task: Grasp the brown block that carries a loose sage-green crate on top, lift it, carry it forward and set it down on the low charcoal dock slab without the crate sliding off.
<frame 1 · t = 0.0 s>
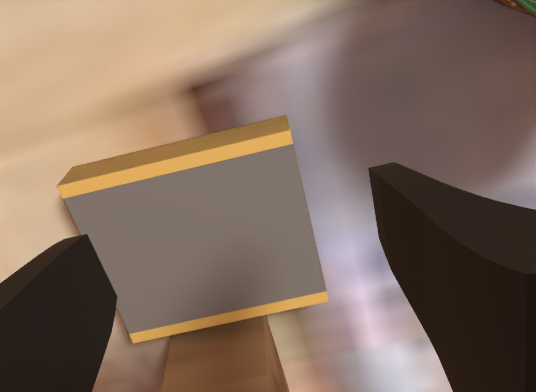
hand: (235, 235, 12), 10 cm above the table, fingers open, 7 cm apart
dock: (206, 225, 23), on the table
brown block: (234, 357, 28), on the table, touching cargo
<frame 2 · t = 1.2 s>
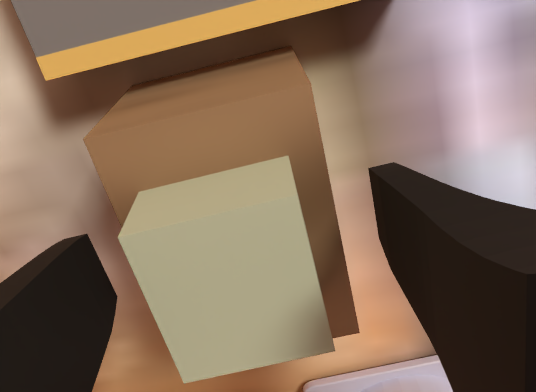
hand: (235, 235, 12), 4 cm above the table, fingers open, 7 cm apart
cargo: (236, 246, 12), point 5 cm above the table, touching brown block
brown block: (240, 167, 16), on the table, touching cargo
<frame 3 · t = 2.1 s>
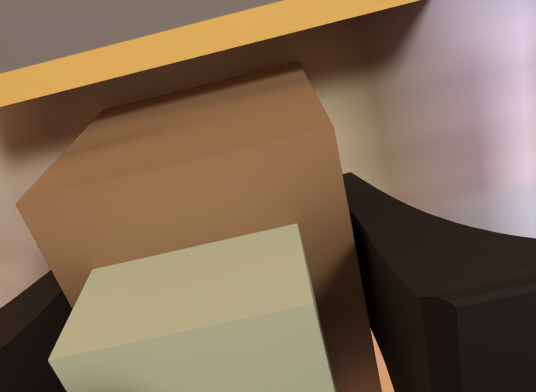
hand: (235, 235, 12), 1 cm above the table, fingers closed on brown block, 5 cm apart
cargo: (225, 336, 9), point 5 cm above the table, touching brown block
brown block: (236, 208, 13), on the table, touching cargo, gripper
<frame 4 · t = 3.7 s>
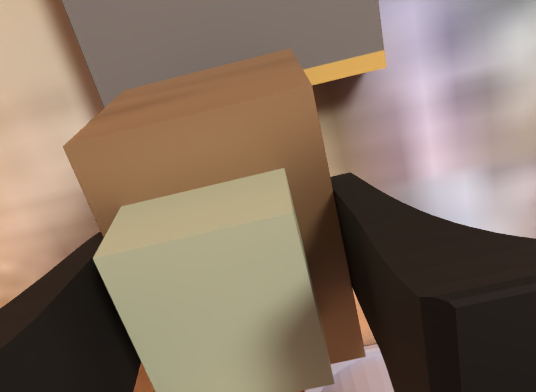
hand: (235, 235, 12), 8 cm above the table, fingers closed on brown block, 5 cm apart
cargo: (227, 266, 11), point 10 cm above the table
brown block: (237, 177, 15), point 5 cm above the table, touching gripper
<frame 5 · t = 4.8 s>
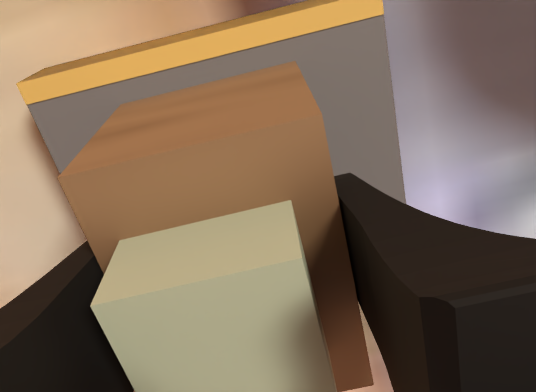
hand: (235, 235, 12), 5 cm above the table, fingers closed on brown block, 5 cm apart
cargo: (231, 298, 10), point 7 cm above the table, touching brown block
dock: (238, 161, 16), on the table
brown block: (239, 193, 15), point 2 cm above the table, touching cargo, dock, gripper
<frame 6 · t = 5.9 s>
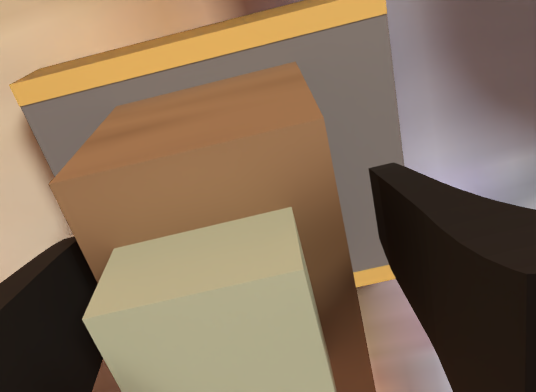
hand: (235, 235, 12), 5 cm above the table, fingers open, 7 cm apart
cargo: (230, 308, 10), point 7 cm above the table, touching brown block
dock: (237, 164, 16), on the table
brown block: (238, 196, 14), point 2 cm above the table, touching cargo, dock
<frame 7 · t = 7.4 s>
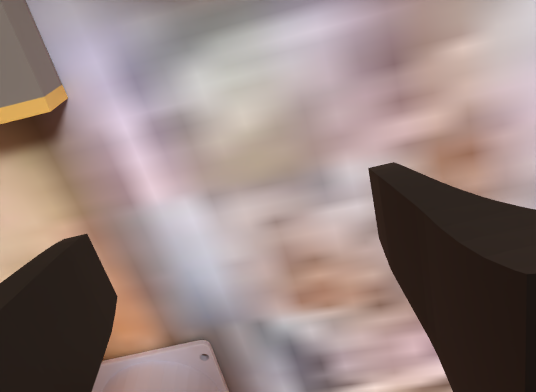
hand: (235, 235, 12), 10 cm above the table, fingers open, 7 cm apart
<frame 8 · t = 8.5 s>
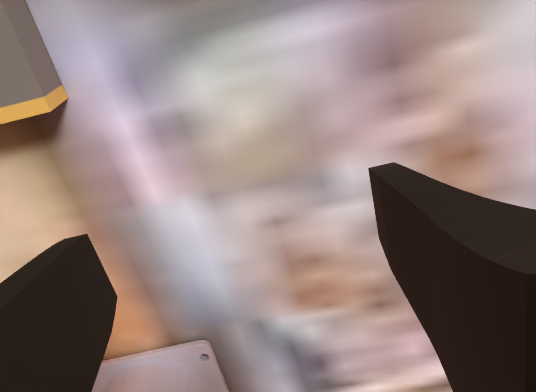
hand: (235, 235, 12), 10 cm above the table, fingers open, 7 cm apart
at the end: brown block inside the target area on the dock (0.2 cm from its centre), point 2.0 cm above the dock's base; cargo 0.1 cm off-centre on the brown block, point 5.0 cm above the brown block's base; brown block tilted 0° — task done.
